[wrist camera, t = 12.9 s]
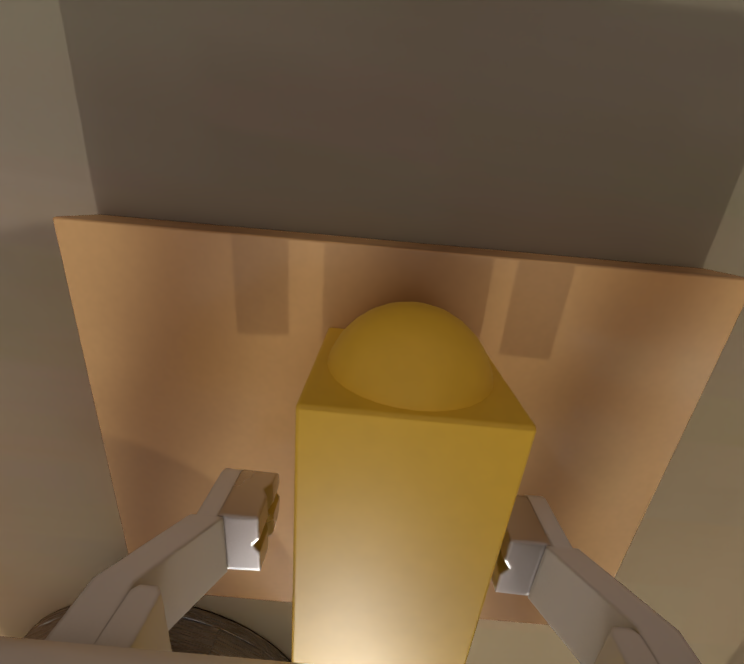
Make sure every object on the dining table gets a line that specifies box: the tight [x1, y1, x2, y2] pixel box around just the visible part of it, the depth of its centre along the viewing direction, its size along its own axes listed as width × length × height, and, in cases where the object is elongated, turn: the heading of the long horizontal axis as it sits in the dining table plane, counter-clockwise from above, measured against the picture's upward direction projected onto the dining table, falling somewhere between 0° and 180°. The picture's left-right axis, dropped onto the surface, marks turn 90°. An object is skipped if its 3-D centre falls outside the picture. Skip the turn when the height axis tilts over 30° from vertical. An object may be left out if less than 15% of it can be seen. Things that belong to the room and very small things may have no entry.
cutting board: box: [53, 214, 744, 625], centre depth 12 cm, size 18×14×2 cm
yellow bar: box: [291, 302, 536, 664], centre depth 9 cm, size 12×4×4 cm, turn 175°
